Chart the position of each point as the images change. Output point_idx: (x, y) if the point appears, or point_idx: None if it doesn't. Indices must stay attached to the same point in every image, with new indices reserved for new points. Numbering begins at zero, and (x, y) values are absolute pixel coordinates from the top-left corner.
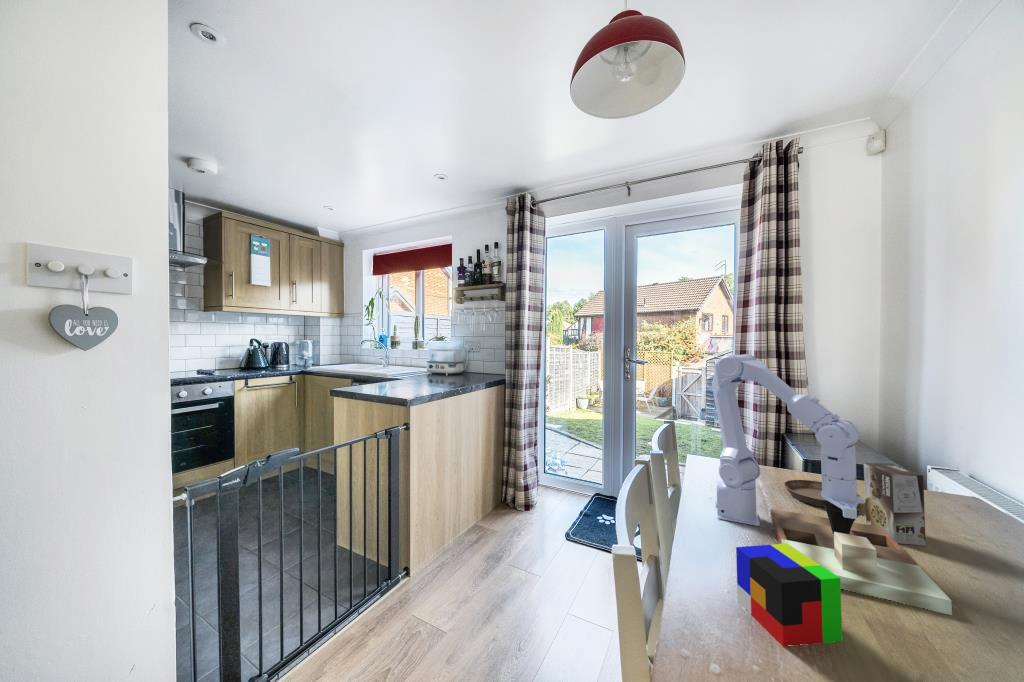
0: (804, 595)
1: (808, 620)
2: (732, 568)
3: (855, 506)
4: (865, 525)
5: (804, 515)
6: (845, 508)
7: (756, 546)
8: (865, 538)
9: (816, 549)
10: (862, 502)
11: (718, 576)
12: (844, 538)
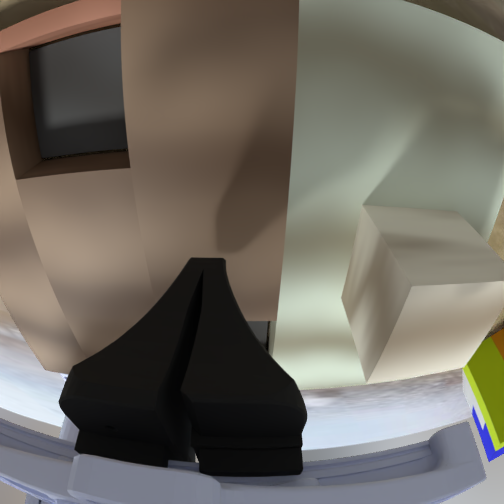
0: None
1: None
2: (383, 409)
3: (431, 500)
4: None
5: (11, 303)
6: (454, 496)
7: (494, 455)
8: (426, 292)
9: (309, 335)
10: (220, 496)
11: (408, 414)
12: (427, 360)
